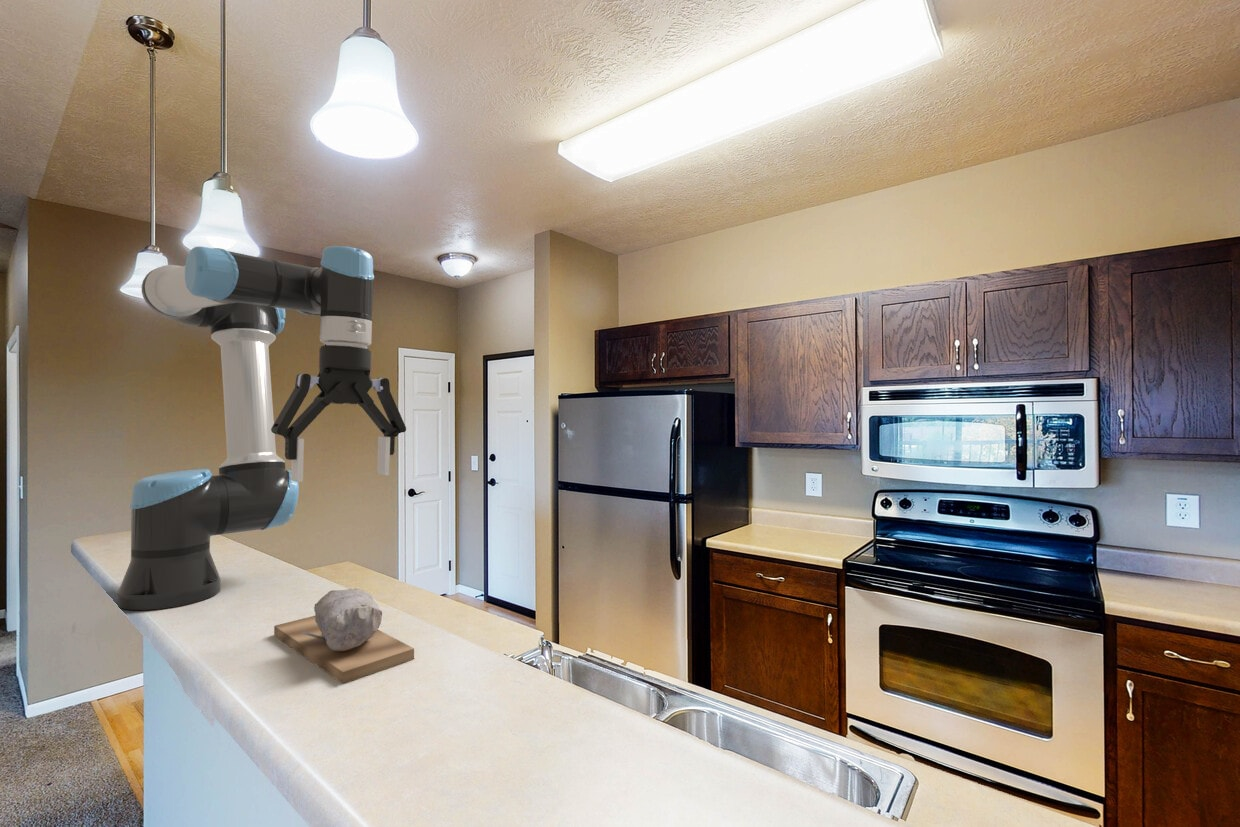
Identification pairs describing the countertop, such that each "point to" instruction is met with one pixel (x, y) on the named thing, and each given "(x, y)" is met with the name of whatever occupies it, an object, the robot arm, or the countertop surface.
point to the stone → (347, 618)
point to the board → (347, 663)
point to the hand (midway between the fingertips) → (342, 477)
